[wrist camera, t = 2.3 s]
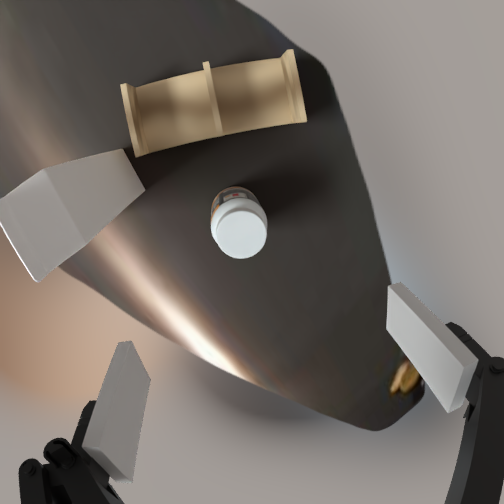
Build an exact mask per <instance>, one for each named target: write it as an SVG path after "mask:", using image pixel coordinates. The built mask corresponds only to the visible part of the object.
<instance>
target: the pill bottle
mask: <svg viewBox="0 0 504 504" xmlns="http://www.w3.org/2000/svg"><path fill="white" fill-rule="evenodd" d="M211 232H212V236H213V238H214V239H215V241H216V242H217V243H218V245H219V247H220V248H221V250H222V251H223V252H224V253H226V254H227V255H229V256H231V257H234V258H248V257H251V256H253V255H255V254H256V253H258V252H259V251H260V250H261V249H262V247H263V246H264V244H265V241H266V236H267V217H266V214H265V212H264V210H263V209H262V207H261V205H260V204H259V202H258V200H257V198H256V197H255V196H254V194H253V193H252V192H250V191H249V190H247V189H245V188H242V187H229V188H227V189H224V190H223V191H221V192H220V193H219V194H218V195H217V196H216V198H215V199H214V201H213V204H212V211H211Z"/></svg>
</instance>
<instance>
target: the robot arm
mask: <svg viewBox="0 0 504 504" xmlns="http://www.w3.org/2000/svg"><path fill="white" fill-rule="evenodd" d="M386 329H387V330H388V332H389V333H390V334H391V336H392V337H393V338H394V340H395V341H396V342H397V344H398V345H399V346H400V347H401V349H402V350H403V351H404V353H405V354H406V356H407V357H408V358H409V360H410V361H411V362H412V364H413V365H414V366H415V368H416V369H417V370H418V372H419V373H420V375H421V376H422V377H423V379H424V380H425V381H426V383H427V384H428V386H429V387H430V388H431V390H432V391H433V393H434V394H435V396H436V397H437V398H438V400H439V401H440V403H441V404H442V406H443V407H444V408H445V410H446V411H447V413H449V412H451V411H453V410H455V409H457V408H459V407H461V406H462V404H463V402H464V399H465V397H466V398H467V400H468V401H469V402H470V403H469V405H468V407H467V410H466V412H465V414H464V417H463V418H465V417H466V420H465V426H464V431H463V437H462V441H461V446H460V450H459V455H458V459H457V463H456V467H455V471H454V474H453V478H452V481H451V485H450V488H449V491H448V494H447V497H446V501H445V504H499V500H500V495H501V491H502V486H503V480H504V359H503V358H501V357H491V356H490V355H489V354H488V353H487V352H486V351H485V350H484V349H483V348H482V347H481V346H480V345H479V344H478V343H477V342H476V341H475V340H474V339H472V337H471V336H470V335H469V334H467V332H466V331H465V330H464V329H462V327H460V326H459V325H457V324H454V323H452V322H450V323H448V324H444V323H443V322H442V321H440V319H438V318H437V316H436V315H435V314H433V312H432V311H430V310H429V309H428V308H427V307H426V306H425V305H424V304H423V303H422V302H421V301H420V300H419V299H418V298H417V297H416V296H415V295H414V294H413V293H412V292H411V291H410V290H408V288H406V287H405V286H404V285H403V284H402V283H401V282H400V283H396V284H393V285H389V286H388V307H387V327H386ZM150 381H151V379H150V377H149V376H148V374H147V371H146V370H145V368H144V365H143V364H142V361H141V359H140V357H139V355H138V353H137V351H136V349H135V347H134V345H133V343H132V341H126V342H119V343H118V345H117V347H116V350H115V353H114V355H113V358H112V360H111V363H110V366H109V368H108V371H107V374H106V376H105V379H104V382H103V384H102V388H101V390H100V393H99V396H98V398H97V401H89V403H88V404H87V405H86V406H85V407H84V409H83V411H82V414H81V417H80V418H81V419H79V422H78V426H77V428H76V431H75V434H74V437H73V440H72V443H71V445H70V443H69V442H68V441H67V440H66V439H64V438H56V439H53V440H51V441H50V442H49V443H47V445H46V446H45V448H44V452H43V453H44V458H45V459H46V460H47V461H48V462H49V464H44V465H42V464H41V463H39V461H38V460H36V459H28V460H26V461H24V462H23V463H22V464H21V466H20V468H19V487H20V498H21V504H124V503H123V501H122V500H121V498H120V497H119V496H118V494H117V493H116V491H115V490H114V489H113V487H112V486H111V485H110V484H109V483H108V481H109V477H111V478H113V479H114V480H115V481H116V482H124V483H132V481H133V474H134V467H135V461H136V455H137V449H138V443H139V437H140V432H141V426H142V421H143V415H144V410H145V405H146V400H147V395H148V390H149V386H150Z"/></svg>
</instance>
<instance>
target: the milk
mask: <svg viewBox="0 0 504 504" xmlns="http://www.w3.org/2000/svg"><path fill="white" fill-rule="evenodd" d="M144 191H145V188H144V187H143V185H142V183H141V181H140V179H139V178H138V176H137V174H136V172H135V170H134V169H133V167H132V165H131V163H130V161H129V159H128V158H127V156H126V154H125V152H124V150H123V149H118V150H114V151H109V152H105V153H101V154H97V155H92V156H88V157H84V158H80V159H77V160H73V161H69V162H65V163H62V164H58V165H55V166H51V167H48V168H44V169H42V170H41V171H39V172H38V173H36V174H35V175H33V176H32V177H30V178H29V179H28V180H26V181H25V182H23V183H22V184H21V185H19V186H18V187H17V188H15V189H14V190H13V191H11V192H10V193H9V194H7V195H6V196H5V197H3V198H1V199H0V225H1V227H2V228H3V230H4V232H5V234H6V236H7V237H8V239H9V241H10V242H11V244H12V246H13V248H14V249H15V251H16V253H17V254H18V256H19V257H20V259H21V261H22V262H23V264H24V266H25V267H26V269H27V270H28V272H29V273H30V275H31V276H32V278H33V279H34V281H36V282H40V281H41V280H42V279H43V278H44V277H45V276H46V275H47V274H48V273H49V272H51V271H52V270H53V269H55V268H56V267H57V266H59V265H60V264H61V263H63V262H64V261H65V260H66V259H68V258H69V257H70V256H72V255H73V254H75V253H76V252H77V251H79V250H80V249H81V248H83V247H84V246H85V245H86V244H88V243H89V242H90V241H91V240H92V239H93V238H94V237H95V236H96V235H97V234H98V233H99V232H100V231H101V230H102V229H103V228H104V227H105V226H106V225H107V224H108V223H110V222H111V221H112V220H113V219H114V218H115V217H116V216H117V215H118V214H119V213H120V212H122V211H123V210H124V209H125V208H126V207H127V206H128V205H129V204H131V203H132V202H133V201H134V200H135V199H136V198H137V197H139V196H140V195H141V194H142V193H143V192H144Z"/></svg>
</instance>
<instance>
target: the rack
mask: <svg viewBox="0 0 504 504" xmlns="http://www.w3.org/2000/svg"><path fill="white" fill-rule="evenodd" d="M203 67H204V70H202V71H198V72H193V73H189V74H184V75H180V76H176V77H172V78H168V79H165V80H161V81H157V82H154V83H150V84H147V85H143V86H140V87H137V88H135V87H133V86H131V85H129V84H127V83H125V84H122V85H121V91H122V96H123V101H124V107H125V112H126V117H127V121H128V126H129V131H130V135H131V140H132V144H133V149H134V153H135V157H139V156H142V155H145V154H148V153H152V152H155V151H159V150H163V149H167V148H171V147H175V146H179V145H183V144H187V143H191V142H195V141H200V140H204V139H209V138H213V137H220V136H224V135H228V134H233V133H238V132H243V131H248V130H254V129H259V128H265V127H271V126H278V125H284V124H291V123H301V122H307V118H306V112H305V107H304V101H303V96H302V91H301V86H300V81H299V76H298V71H297V66H296V61H295V56H294V52H293V49H291V50H287V51H286V52H285V53H284V54H283V55H282V56H281V57H280V58H276V59H267V60H260V61H252V62H246V63H239V64H233V65H228V66H222V67H217V68H212V69H210V66H209V61H208V62H203Z"/></svg>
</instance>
